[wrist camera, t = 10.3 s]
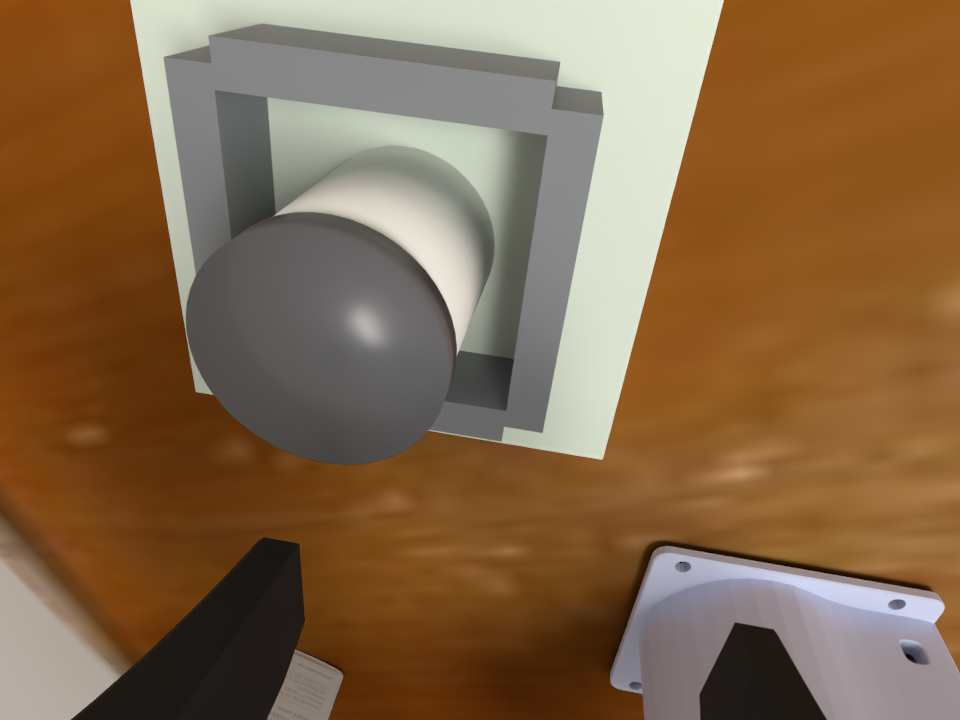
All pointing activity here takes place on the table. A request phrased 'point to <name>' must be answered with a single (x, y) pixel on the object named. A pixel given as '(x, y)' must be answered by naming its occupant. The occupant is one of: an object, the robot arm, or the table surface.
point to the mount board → (451, 162)
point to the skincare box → (307, 690)
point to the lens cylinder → (346, 308)
